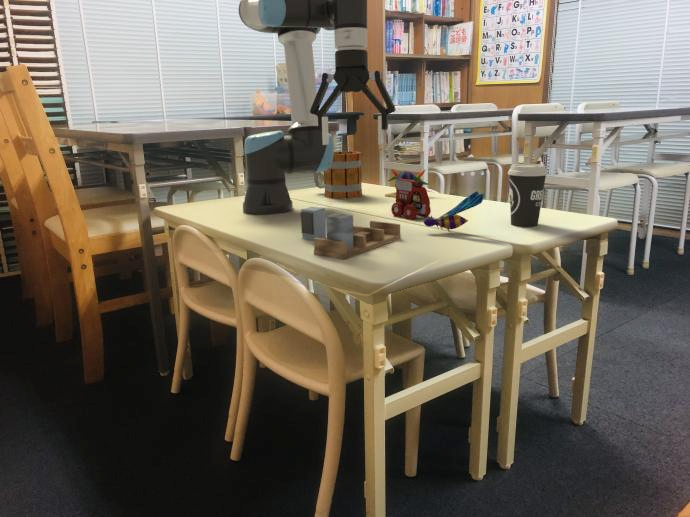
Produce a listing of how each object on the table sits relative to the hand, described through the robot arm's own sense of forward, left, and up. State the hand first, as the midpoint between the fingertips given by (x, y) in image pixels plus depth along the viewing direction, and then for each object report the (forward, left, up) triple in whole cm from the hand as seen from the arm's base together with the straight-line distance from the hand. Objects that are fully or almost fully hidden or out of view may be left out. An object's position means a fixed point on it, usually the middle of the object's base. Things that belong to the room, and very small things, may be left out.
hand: (352, 144), depth 131 cm
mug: (-39, +43, -22) cm, 62 cm away
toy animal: (-17, +53, -22) cm, 60 cm away
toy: (+22, +10, -21) cm, 32 cm away
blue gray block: (-4, -11, -21) cm, 24 cm away
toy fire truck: (+3, +23, -22) cm, 32 cm away
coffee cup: (+33, +28, -21) cm, 48 cm away
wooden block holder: (+10, -12, -21) cm, 26 cm away
